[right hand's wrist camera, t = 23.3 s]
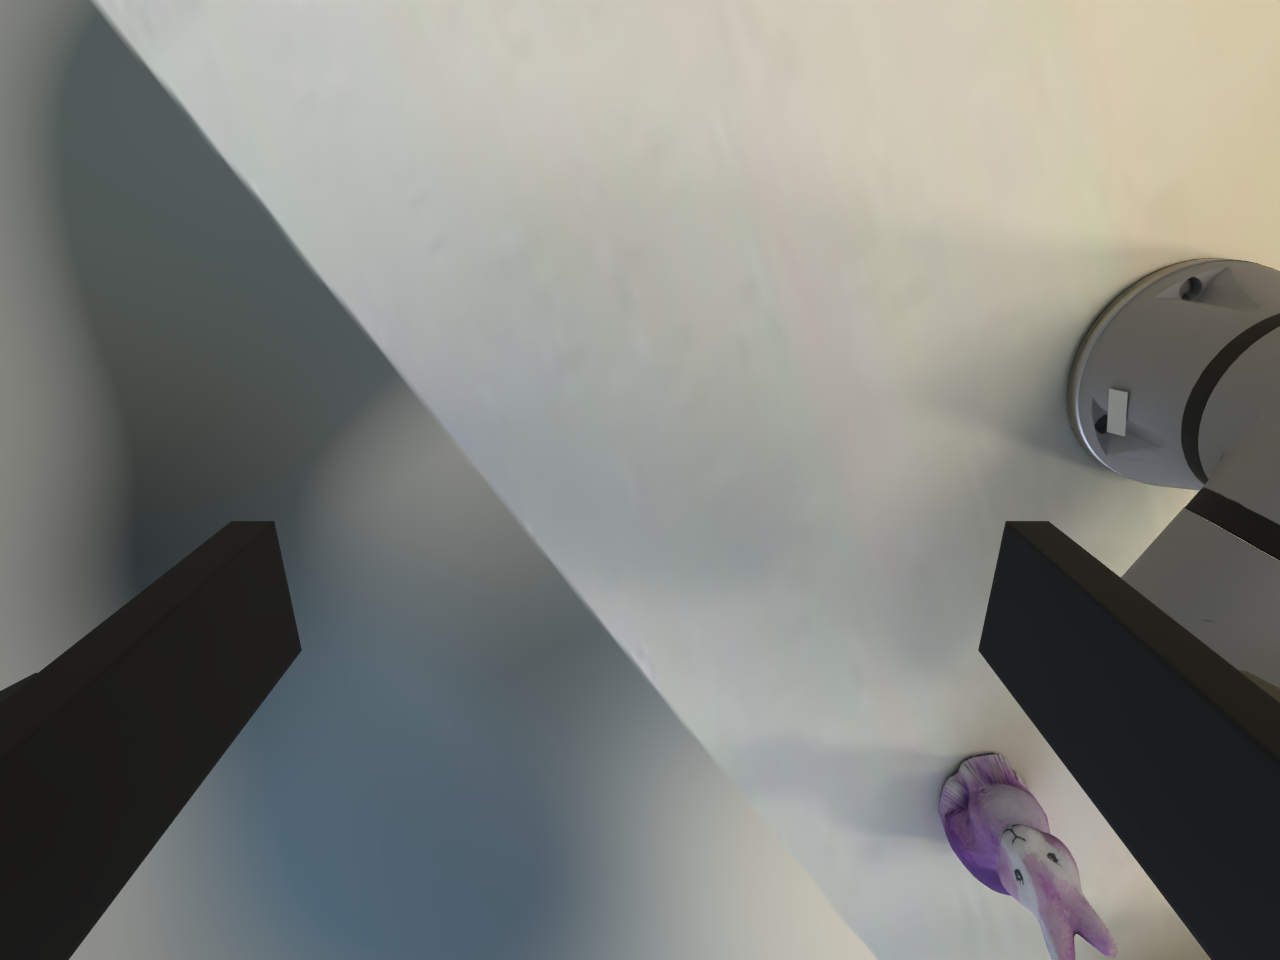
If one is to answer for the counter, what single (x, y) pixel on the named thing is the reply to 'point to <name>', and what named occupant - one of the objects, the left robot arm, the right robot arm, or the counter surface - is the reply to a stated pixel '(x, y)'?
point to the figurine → (1019, 852)
